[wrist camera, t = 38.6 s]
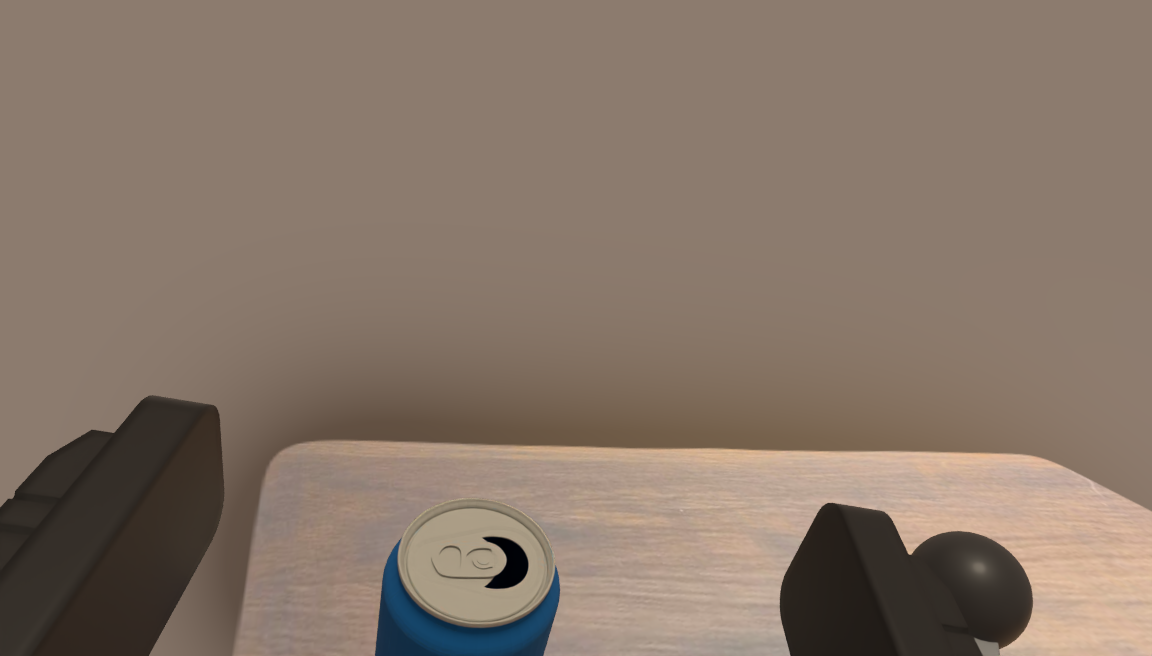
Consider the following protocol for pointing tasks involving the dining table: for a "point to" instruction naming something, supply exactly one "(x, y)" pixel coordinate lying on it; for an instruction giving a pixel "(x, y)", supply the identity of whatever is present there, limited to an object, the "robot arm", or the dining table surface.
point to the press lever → (982, 586)
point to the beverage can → (469, 584)
